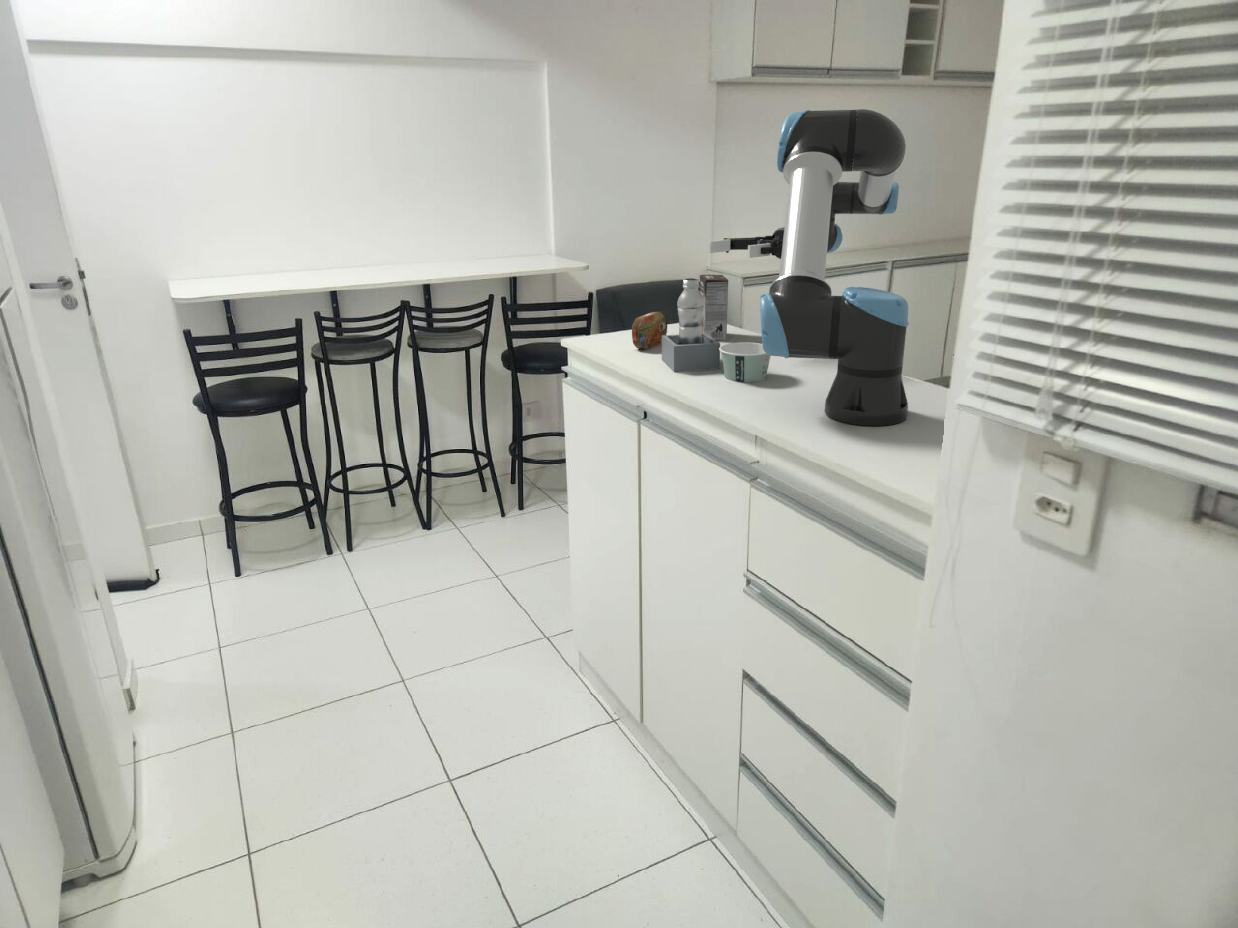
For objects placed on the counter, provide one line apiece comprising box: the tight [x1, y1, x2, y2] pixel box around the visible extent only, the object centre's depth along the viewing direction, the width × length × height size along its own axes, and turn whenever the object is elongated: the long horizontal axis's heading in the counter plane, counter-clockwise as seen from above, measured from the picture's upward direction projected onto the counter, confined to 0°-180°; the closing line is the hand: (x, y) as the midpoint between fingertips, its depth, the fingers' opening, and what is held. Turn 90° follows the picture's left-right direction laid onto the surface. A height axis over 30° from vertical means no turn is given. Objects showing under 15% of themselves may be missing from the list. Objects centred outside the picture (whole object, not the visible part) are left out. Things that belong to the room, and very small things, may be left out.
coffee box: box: [699, 274, 729, 341], centre depth 217 cm, size 9×6×16 cm
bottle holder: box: [661, 333, 721, 373], centre depth 191 cm, size 12×11×6 cm
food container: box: [719, 341, 771, 383], centre depth 179 cm, size 12×12×6 cm
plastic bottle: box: [676, 277, 705, 345], centre depth 188 cm, size 6×7×20 cm
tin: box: [631, 311, 668, 350], centre depth 210 cm, size 15×3×8 cm, turn 148°
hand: (728, 249), depth 189 cm, fingers open, 13 cm apart
